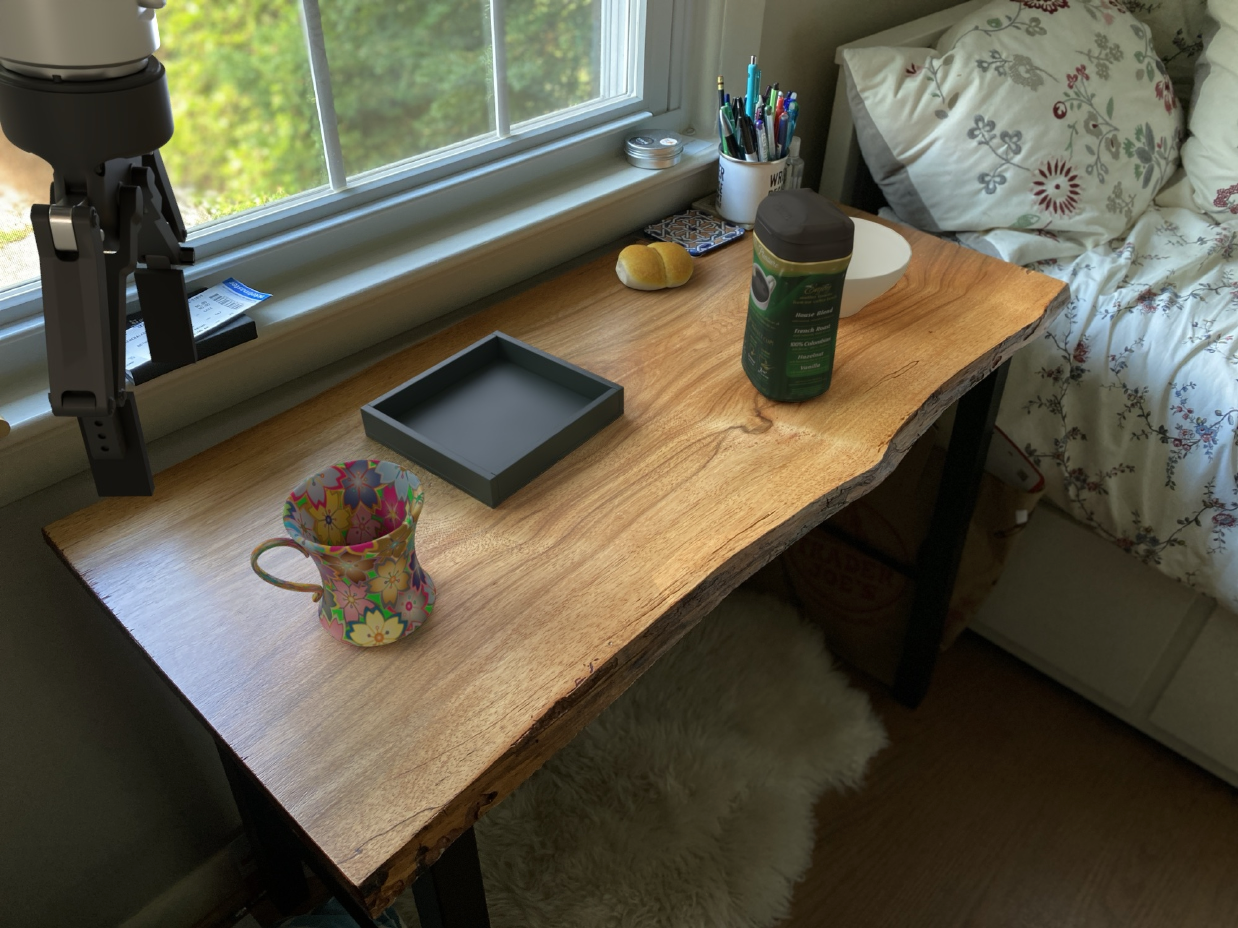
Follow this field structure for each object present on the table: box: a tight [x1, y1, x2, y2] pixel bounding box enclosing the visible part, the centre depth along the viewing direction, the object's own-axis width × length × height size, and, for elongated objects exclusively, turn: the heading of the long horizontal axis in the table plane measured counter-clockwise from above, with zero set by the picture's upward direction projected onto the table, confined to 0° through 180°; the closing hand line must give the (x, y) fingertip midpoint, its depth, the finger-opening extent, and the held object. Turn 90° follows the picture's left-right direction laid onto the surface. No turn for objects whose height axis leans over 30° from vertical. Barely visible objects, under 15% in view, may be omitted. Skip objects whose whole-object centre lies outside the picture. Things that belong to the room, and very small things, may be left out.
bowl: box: [839, 216, 913, 319], centre depth 103 cm, size 16×16×7 cm
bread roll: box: [615, 241, 694, 291], centre depth 109 cm, size 8×9×4 cm
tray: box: [359, 330, 625, 510], centre depth 86 cm, size 18×17×3 cm
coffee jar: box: [740, 187, 855, 403], centre depth 87 cm, size 10×8×19 cm
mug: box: [249, 459, 437, 647], centre depth 65 cm, size 12×9×11 cm
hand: (153, 420), depth 57 cm, fingers open, 13 cm apart
